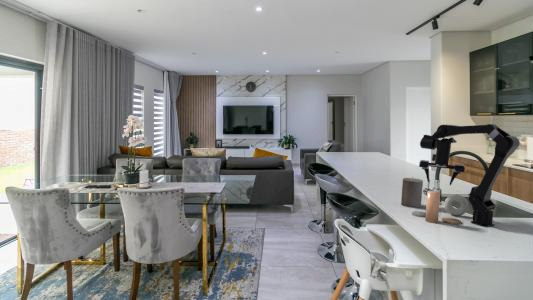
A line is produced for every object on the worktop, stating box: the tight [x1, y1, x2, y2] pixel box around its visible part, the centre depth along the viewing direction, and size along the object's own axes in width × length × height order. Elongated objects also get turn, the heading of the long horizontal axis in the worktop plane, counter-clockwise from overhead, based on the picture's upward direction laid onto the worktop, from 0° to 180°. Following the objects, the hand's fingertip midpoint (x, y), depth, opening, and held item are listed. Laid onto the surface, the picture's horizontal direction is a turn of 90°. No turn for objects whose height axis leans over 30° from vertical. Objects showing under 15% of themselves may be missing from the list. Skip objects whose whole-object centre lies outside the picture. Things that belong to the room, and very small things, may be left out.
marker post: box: [425, 190, 441, 224], centre depth 143 cm, size 5×5×13 cm
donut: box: [443, 194, 470, 217], centre depth 152 cm, size 10×4×10 cm, turn 68°
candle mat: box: [411, 210, 426, 218], centre depth 153 cm, size 8×8×1 cm
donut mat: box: [440, 217, 462, 225], centre depth 143 cm, size 8×8×1 cm
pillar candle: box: [400, 176, 424, 209], centre depth 169 cm, size 10×10×15 cm
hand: (439, 183), depth 155 cm, fingers open, 9 cm apart
